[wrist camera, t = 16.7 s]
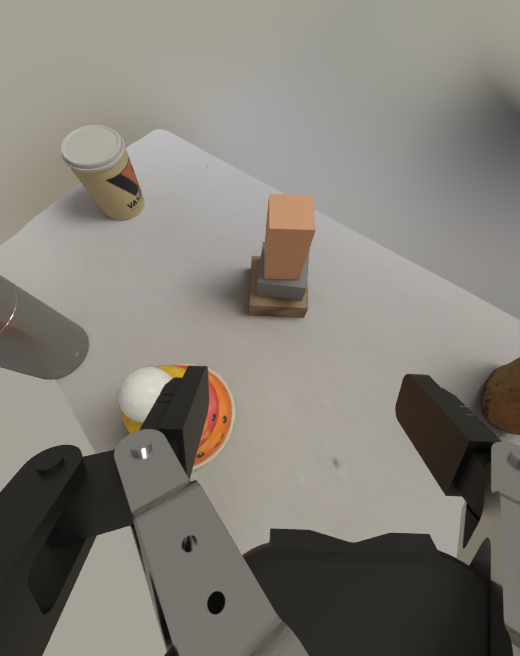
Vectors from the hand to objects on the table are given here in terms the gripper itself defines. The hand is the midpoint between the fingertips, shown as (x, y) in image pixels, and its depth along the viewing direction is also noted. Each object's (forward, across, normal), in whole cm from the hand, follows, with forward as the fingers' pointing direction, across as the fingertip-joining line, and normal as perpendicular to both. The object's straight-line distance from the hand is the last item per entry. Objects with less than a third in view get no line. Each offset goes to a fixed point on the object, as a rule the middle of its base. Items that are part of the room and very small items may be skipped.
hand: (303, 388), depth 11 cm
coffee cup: (+49, +29, -6) cm, 57 cm away
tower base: (+37, -1, +6) cm, 37 cm away
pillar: (+31, -1, +1) cm, 31 cm away
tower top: (+34, -1, +3) cm, 34 cm away
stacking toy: (+22, +12, +21) cm, 33 cm away
